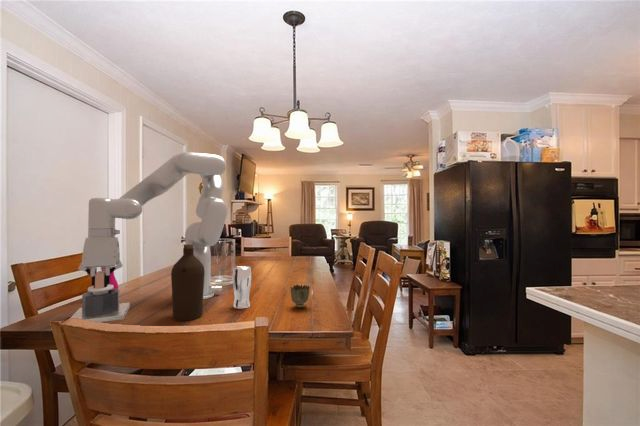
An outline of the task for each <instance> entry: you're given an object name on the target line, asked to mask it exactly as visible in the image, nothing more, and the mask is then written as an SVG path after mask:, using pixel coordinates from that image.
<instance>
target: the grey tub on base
mask: <svg viewBox="0 0 640 426" xmlns="http://www.w3.org/2000/svg"><path fill="white" fill-rule="evenodd" d="M81 296H82V297H81V300H82V302H81V306H82V307H80V308H78V309H77V310H76V312H75V313H73V314H72V315H71V316H70V318H78V319H82V320H89V321H97V322H98V323H105V322H106V323H107V322H111V321H112V322H113V321H121V320H124V319H125V318H126V315H127V313H128V311H129V309H130V306H131V302H122V303H120V289H119V288H118V289H112V290H109V293H106V294H100V295H93V292H88V291H87V292H84V293H82V295H81Z"/></svg>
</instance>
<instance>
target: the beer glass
mask: <svg viewBox="0 0 640 426" xmlns="http://www.w3.org/2000/svg"><path fill="white" fill-rule="evenodd" d="M251 285H252V267H251V266H249V265H240V266H239V265H237V266H234V267H233V268H232V287H233V288H232V289H233V294H234V300H233V306H232V307H233V308H234V309H236V310H237V309H238V310H243V309H244V308H245V309H248V308H250V306H251V304H250V291H251ZM245 309H244V310H245Z"/></svg>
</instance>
